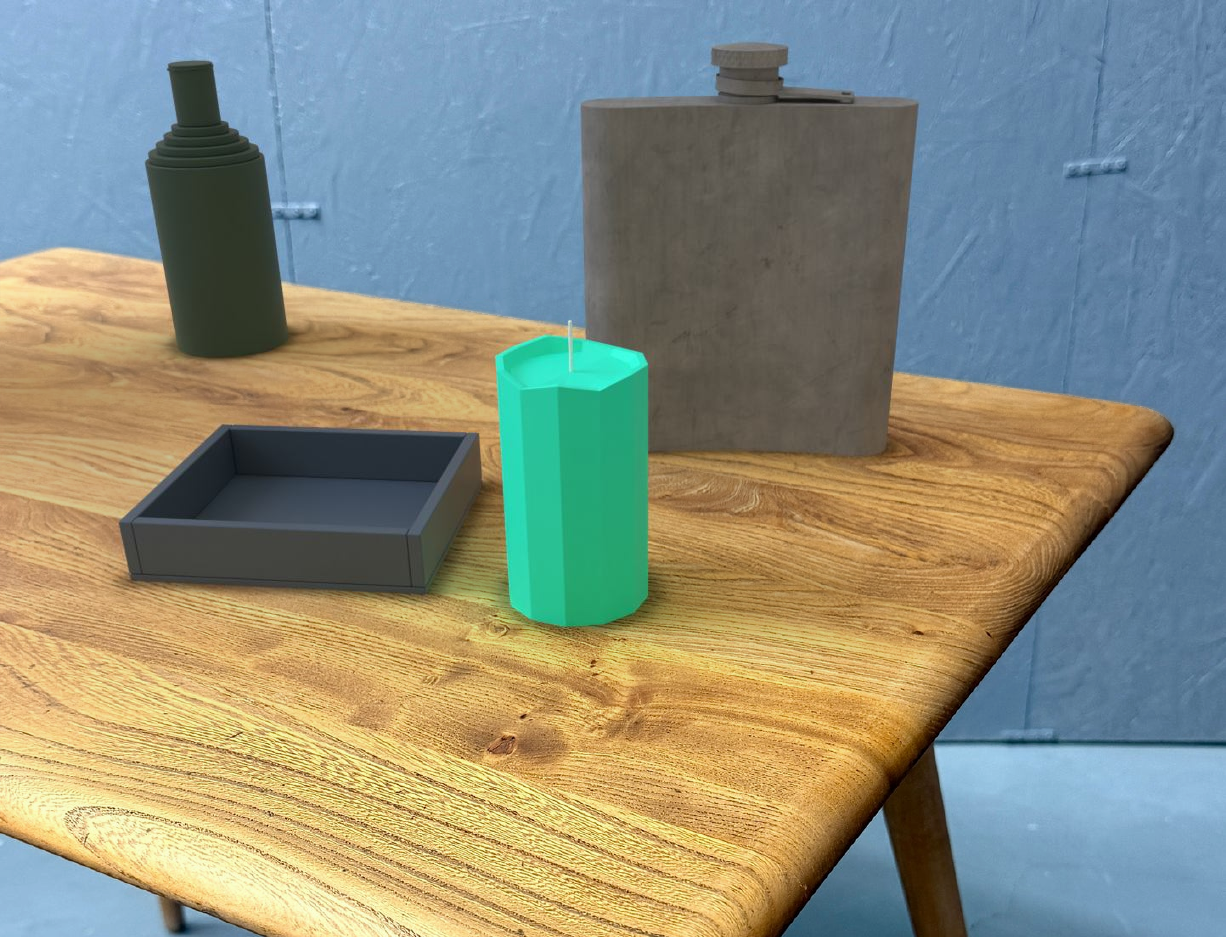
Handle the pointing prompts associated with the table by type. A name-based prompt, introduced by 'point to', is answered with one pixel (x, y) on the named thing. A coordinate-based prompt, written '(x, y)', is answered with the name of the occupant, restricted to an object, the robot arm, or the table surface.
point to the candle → (574, 478)
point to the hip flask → (751, 255)
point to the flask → (215, 227)
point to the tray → (307, 509)
